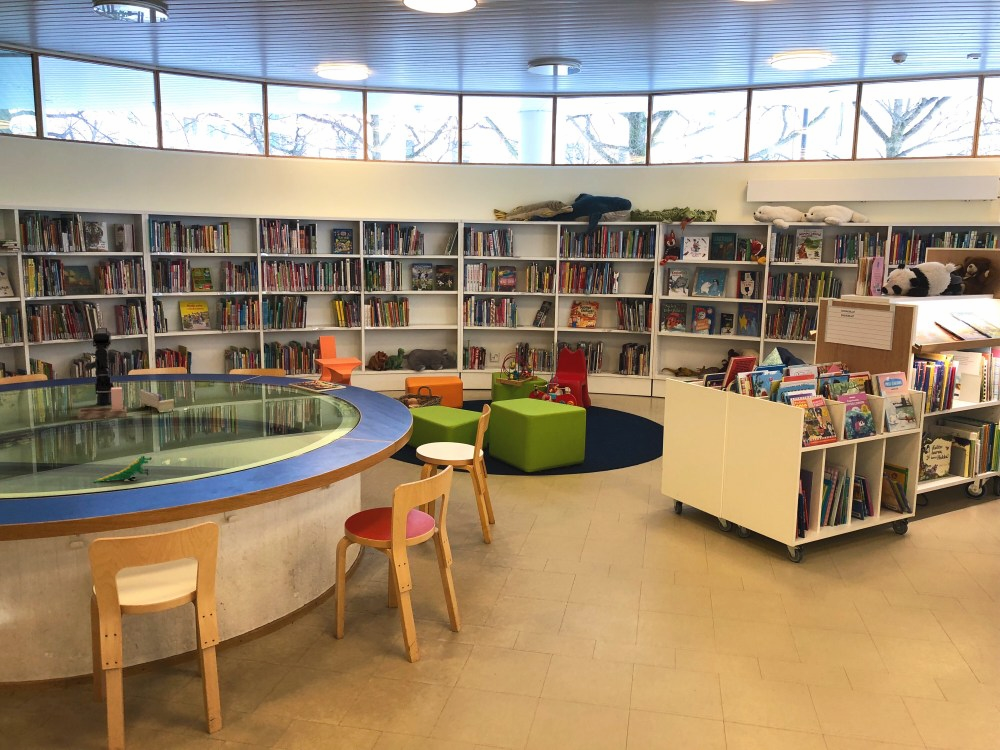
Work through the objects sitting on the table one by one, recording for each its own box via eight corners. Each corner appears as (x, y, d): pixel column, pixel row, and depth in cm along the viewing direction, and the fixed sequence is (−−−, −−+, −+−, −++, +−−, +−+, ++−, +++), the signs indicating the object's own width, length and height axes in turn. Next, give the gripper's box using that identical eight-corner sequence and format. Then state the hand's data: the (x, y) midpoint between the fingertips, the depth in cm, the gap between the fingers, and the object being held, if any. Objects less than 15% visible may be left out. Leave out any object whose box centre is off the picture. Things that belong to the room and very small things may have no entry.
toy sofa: (175, 411, 426) (174, 392, 424) (159, 413, 419) (158, 394, 417) (155, 405, 439) (154, 387, 437) (139, 407, 432) (139, 389, 430)
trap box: (78, 419, 398) (77, 412, 398) (79, 415, 407) (79, 408, 407) (126, 417, 407) (126, 410, 407) (126, 413, 416) (126, 406, 416)
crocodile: (93, 484, 297) (92, 461, 296) (94, 480, 302) (93, 457, 301) (152, 480, 305) (151, 457, 304) (152, 476, 310) (151, 454, 309)
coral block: (111, 412, 407) (111, 389, 405) (112, 410, 411) (111, 387, 409) (122, 411, 409) (121, 388, 407) (122, 410, 413) (122, 387, 411)
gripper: (85, 354, 422) (86, 383, 425) (83, 359, 406) (85, 389, 408) (108, 354, 427) (109, 382, 430) (108, 358, 410) (109, 388, 413)
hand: (103, 385), depth 420 cm, fingers open, 9 cm apart
